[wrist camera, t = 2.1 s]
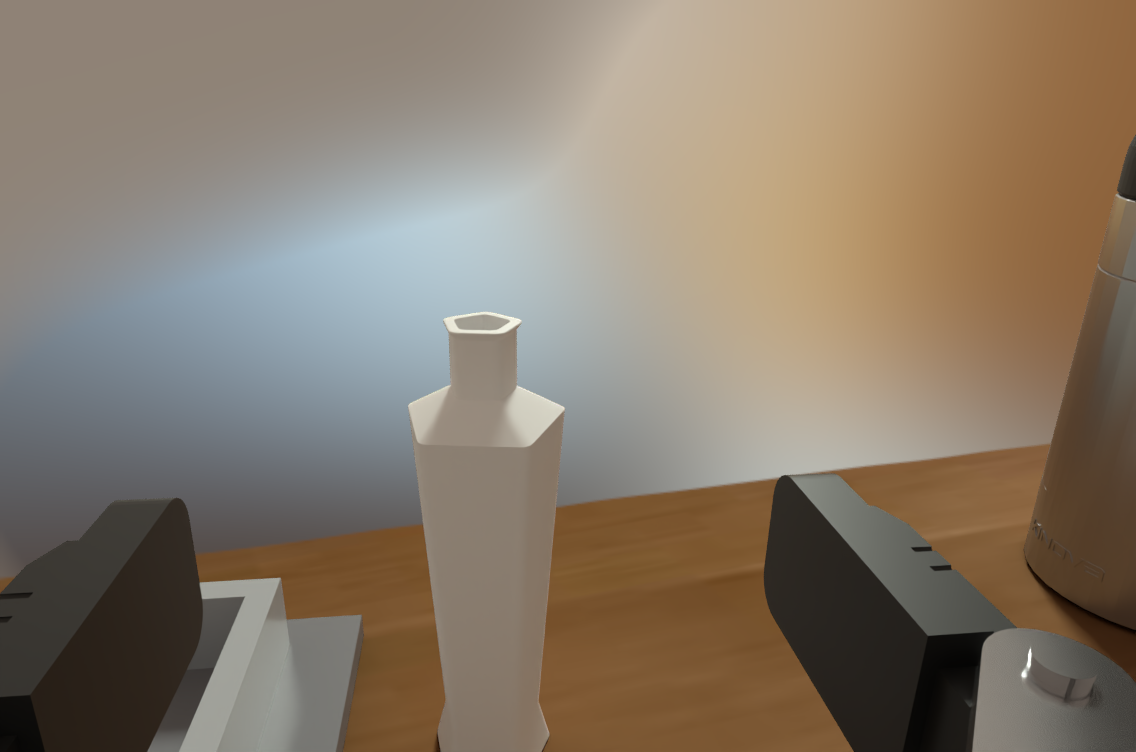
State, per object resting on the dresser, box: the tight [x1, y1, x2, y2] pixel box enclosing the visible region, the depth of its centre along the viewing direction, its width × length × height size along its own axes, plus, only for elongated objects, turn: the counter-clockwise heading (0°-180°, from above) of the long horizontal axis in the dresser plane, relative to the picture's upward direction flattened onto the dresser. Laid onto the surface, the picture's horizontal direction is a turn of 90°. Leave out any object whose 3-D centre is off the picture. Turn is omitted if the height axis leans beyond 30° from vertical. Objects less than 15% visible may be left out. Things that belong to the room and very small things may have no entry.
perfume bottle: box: [408, 312, 565, 752], centre depth 24 cm, size 5×4×15 cm
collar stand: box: [147, 578, 364, 752], centre depth 24 cm, size 14×12×4 cm
